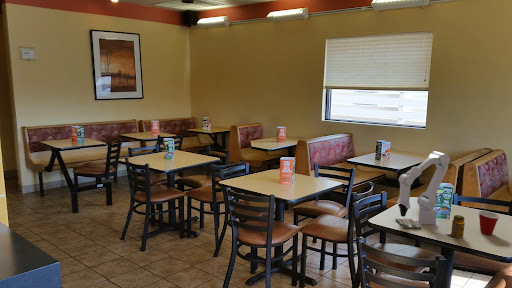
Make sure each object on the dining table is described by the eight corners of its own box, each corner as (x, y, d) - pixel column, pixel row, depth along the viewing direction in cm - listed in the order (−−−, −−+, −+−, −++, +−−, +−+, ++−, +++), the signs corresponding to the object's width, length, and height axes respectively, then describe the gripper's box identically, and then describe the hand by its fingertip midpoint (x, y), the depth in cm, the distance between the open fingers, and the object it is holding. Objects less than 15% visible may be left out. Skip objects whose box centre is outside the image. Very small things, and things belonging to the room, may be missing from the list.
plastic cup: (497, 238, 218) (500, 218, 216) (475, 234, 224) (477, 214, 222) (497, 232, 228) (500, 212, 226) (476, 228, 233) (478, 209, 231)
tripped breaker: (406, 223, 234) (406, 218, 233) (408, 225, 231) (408, 220, 230) (403, 223, 234) (403, 218, 233) (405, 225, 231) (405, 220, 230)
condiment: (466, 239, 217) (468, 218, 215) (452, 239, 216) (454, 219, 214) (458, 234, 224) (460, 214, 222) (444, 234, 223) (446, 214, 221)
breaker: (414, 223, 234) (415, 219, 233) (416, 225, 231) (417, 220, 230) (411, 223, 234) (411, 218, 233) (413, 225, 231) (413, 220, 230)
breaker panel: (411, 220, 244) (412, 218, 243) (421, 229, 230) (421, 226, 230) (395, 220, 244) (395, 218, 243) (403, 229, 230) (404, 226, 230)
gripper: (393, 190, 242) (392, 211, 245) (402, 198, 228) (400, 220, 230) (405, 190, 242) (403, 212, 245) (414, 198, 228) (412, 220, 230)
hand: (402, 216), depth 237 cm, fingers closed
